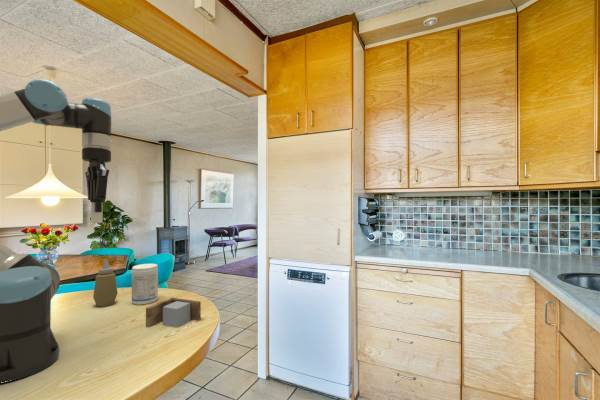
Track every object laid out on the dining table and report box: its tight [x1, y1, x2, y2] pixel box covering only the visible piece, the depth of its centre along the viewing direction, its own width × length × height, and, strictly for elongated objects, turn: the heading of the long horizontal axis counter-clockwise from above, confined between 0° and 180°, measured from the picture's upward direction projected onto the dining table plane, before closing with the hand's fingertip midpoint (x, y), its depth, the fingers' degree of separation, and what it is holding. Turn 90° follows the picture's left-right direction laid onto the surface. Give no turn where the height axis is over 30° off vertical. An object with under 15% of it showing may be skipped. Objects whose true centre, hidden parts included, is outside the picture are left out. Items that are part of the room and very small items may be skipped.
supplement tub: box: [131, 263, 159, 306], centre depth 116 cm, size 10×10×15 cm
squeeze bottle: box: [93, 258, 118, 307], centre depth 113 cm, size 8×8×18 cm
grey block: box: [162, 301, 191, 328], centre depth 94 cm, size 6×6×6 cm
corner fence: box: [145, 297, 202, 328], centre depth 94 cm, size 11×13×6 cm
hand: (96, 222), depth 89 cm, fingers closed
